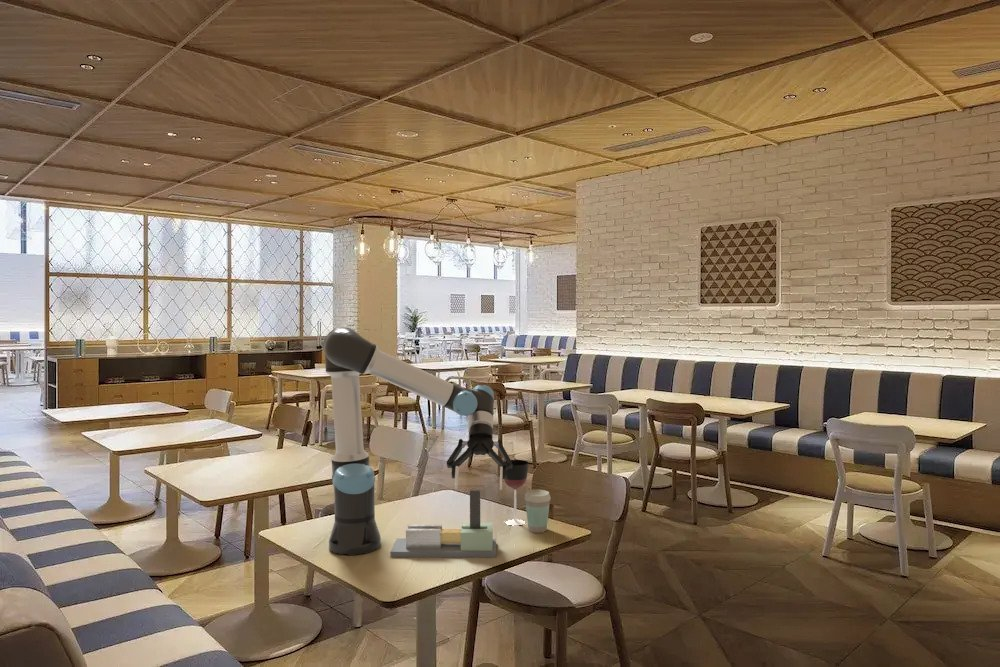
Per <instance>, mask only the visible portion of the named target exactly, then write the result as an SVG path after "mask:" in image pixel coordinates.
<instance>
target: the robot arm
mask: <svg viewBox="0 0 1000 667" xmlns="http://www.w3.org/2000/svg"><path fill="white" fill-rule="evenodd" d="M322 346H323V349H322V350H323V352H324V363H325V364H324V365H325V372H326V374H327V375H329V376H330V379H331V393H332V395H331V396H332V409H333V410H332V411H333V424H334V425H333V427H334V441H335V442H334V443H335V444H334V445H335V453H334V454H333V455H332V457H331V459H330V460H331V472H332V474H331V483H332V486H333V494H334V498H333V499H334V522H333V527H332V529H331V533H330V537H329V539H328V550H329V549H330V550H331V551H330V550H329V551H330V552H332V551H333V552H335V553H334V554H336V553H339V554H338V555H341V554H348V555H347V556H355V555H354V554H358V555H362V553H364V554H368V553H371V552H374V551H376V550H378V549H379V548H380V547H381V544H382V538H381V533H380V531H379V527H378V525H377V522H376V518H375V516H376V515H375V513H376V512H375V511H376V510H375V483H376V476H375V471H374V469H373V467H371V465H370V454H369V452H367V451H366V450H365V449H364V448H365V446H364V432H363V419H362V416H363V414H362V402H361V401H362V398H361V386H360V375H367V374H370V375H371V376H373V377H374V376H375V377H376V378H378V379H381V380H383V381H385V382H388V383H390V384H392V385H395V386H397V387H399V388H401V389H404V390H406V391H408V392H410V393H413V394H415V395H417V396H419V397H421V398H424V399H426V400H428V401H431V402H433V403H434V404H437V405H439V406H441V407H443V408H444V409H445V408H446V409H447V410H450V411H452V412H454V413H456V414H457V415H459V416H463V417H466V416H467V417H468V416H469V418H470V419H469V430H468V431H469V432H468V440H463V439H462V438H459V439H458V443H457V446H456V447H455V449H454V450H453V452H451V455H450V456H449V457H448V459H447V461H446V468H448V469H451V478H452V479H454V484H453V485H454V490H458V487H459V486H458V485H459V484H458V483H459V471H460V470H459V467H460V466H461V465H463V463H464V462H465V461H467V460H468V459H469V458H470V457H471V458H472V456H473V455H475V456H479V455H481V456H486V455H488V456H489V458H491V459H492V460H493V461H494V462H495V464H497V466H499V491H502V490H503V480H504V479H506V470H507V469H512V461H511V460H512V459H511V458H510V455H508V453H507V451H506V449H505V447H504V445H503V439H498V440H495V441H494V438H493V434H494V430H493V428H494V410H495V408H494V407H495V395H494V390H493V389H492V388H491V387H490V386H488V385H485V384H483V385H479V384H478V385H476V386H475V387H473V388H472V389H471V388H467V387H464V386H460V385H457V384H454V383H451V382H450V381H448V380H445V379H442V378H441V377H438V376H437V375H434V374H432V373H430V372H428V371H425V370H423V369H421V368H419V367H417V366H415V365H412V364H410V363H408V362H406V361H404V360H402V359H400V358H397V357H395V356H393V355H391V354H389V353H387V352H384V351H382V350H380V349H379V346H378V345H377V344H375V343H373V342H370V341H369V340H368V339H366V338H364V337H363V336H361V335H360V334H359V333H358V332H357V331H355V330H354V329H353V328H351V327H343V326H342V327H336V328H334V329H332V330H330V331H329V332H328V334H326V336H325V338H324V340H323V345H322ZM466 446H467V448H466V450H465V451H463V453H462V454H461V452H462V450H463V449H465V447H466ZM494 447H495V449H498V451H499V453H500V455H501V456H502V458H503V459H502V458H501V457H500V456H499V455H498V454H497V453H496V451H495V450H494V449H493V448H494ZM460 454H461V455H460ZM459 455H460V456H459ZM504 461H505V462H506V463H505V462H504ZM333 552H332V553H333ZM367 552H368V553H367Z"/></svg>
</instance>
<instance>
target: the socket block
mask: <svg viewBox="0 0 1000 667" xmlns="http://www.w3.org/2000/svg"><path fill="white" fill-rule="evenodd" d="M493 524H494V523H493V522H480V529H470V522H462V525H461V528H460V529H461V551H492V546H493V539H494V525H493Z"/></svg>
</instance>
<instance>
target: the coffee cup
mask: <svg viewBox="0 0 1000 667" xmlns="http://www.w3.org/2000/svg"><path fill="white" fill-rule="evenodd" d="M523 499H524V501H525V510H526V522H527V527H528V528H527V529H528V531H529V532H530V533H534V532H542V533H544V531H545V532H546V531H547V530H548V521H549V513H550V512H549V510H550V503H551V500H552V499H551V495H550V492H549V491H548V490H545V489H530V490H527V491H526V492H525V494H524V498H523Z"/></svg>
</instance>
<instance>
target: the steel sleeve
mask: <svg viewBox="0 0 1000 667" xmlns="http://www.w3.org/2000/svg"><path fill="white" fill-rule="evenodd" d="M441 529H443V524H408V525H407V528H406V529H405V538H406V548H441V545H442V544H441Z"/></svg>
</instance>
